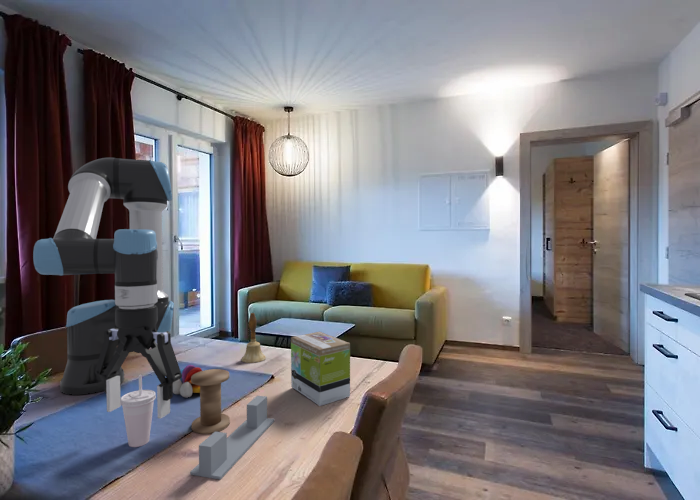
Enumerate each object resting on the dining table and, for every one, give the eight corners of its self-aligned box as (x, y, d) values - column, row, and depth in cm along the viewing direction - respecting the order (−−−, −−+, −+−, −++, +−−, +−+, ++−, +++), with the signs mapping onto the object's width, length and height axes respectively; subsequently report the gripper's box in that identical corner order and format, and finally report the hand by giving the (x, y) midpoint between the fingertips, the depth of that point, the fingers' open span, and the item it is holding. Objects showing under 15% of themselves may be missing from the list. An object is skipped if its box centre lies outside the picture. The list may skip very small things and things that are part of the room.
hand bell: (244, 364, 128) (244, 316, 127) (238, 357, 135) (238, 312, 134) (269, 360, 132) (268, 314, 131) (261, 354, 139) (261, 309, 139)
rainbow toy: (188, 401, 99) (188, 373, 99) (166, 393, 104) (165, 367, 104) (216, 390, 106) (215, 364, 106) (193, 383, 111) (193, 358, 111)
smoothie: (141, 452, 76) (140, 381, 75) (113, 448, 77) (111, 378, 76) (163, 436, 82) (162, 370, 81) (136, 432, 83) (135, 368, 83)
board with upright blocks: (190, 474, 69) (189, 444, 68) (250, 418, 90) (250, 394, 90) (220, 479, 67) (220, 448, 67) (274, 421, 89) (274, 397, 88)
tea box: (289, 388, 108) (289, 335, 107) (320, 380, 114) (320, 330, 113) (319, 407, 96) (319, 348, 95) (351, 397, 102) (351, 341, 101)
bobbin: (183, 431, 84) (183, 380, 83) (205, 414, 92) (205, 367, 91) (216, 435, 82) (216, 383, 82) (236, 418, 90) (236, 370, 89)
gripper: (72, 306, 78) (74, 413, 78) (175, 311, 72) (176, 427, 73) (104, 300, 85) (105, 398, 86) (200, 305, 79) (201, 410, 80)
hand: (138, 412), depth 79 cm, fingers open, 11 cm apart
